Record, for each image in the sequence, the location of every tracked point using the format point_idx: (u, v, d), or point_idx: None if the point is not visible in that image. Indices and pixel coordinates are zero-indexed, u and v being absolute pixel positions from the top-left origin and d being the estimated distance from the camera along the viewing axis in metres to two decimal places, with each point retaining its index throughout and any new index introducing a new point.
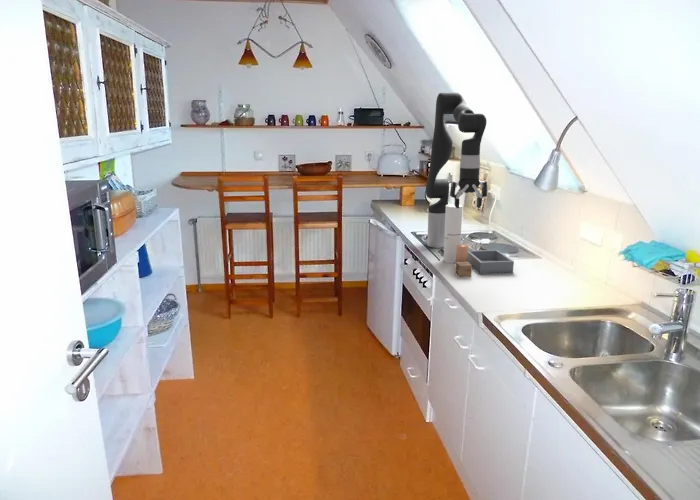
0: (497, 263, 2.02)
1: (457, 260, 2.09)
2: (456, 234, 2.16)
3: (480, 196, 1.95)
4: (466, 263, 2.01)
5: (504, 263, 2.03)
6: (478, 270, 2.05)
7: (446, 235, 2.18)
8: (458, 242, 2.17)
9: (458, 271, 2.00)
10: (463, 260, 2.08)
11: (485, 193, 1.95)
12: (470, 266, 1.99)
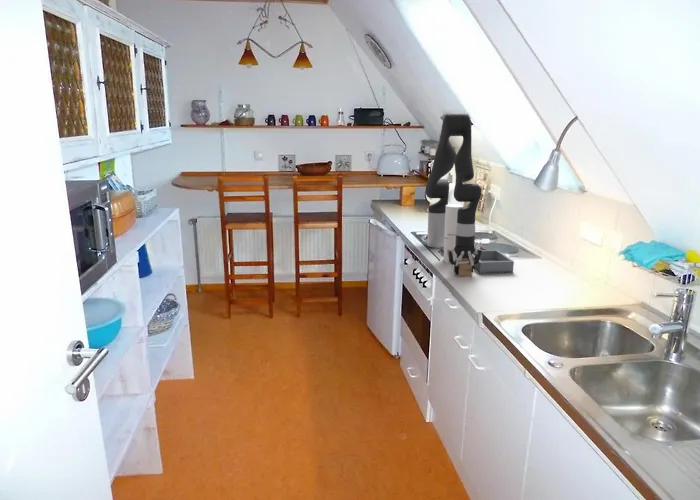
0: (497, 263, 2.02)
1: None
2: None
3: (472, 263, 2.00)
4: (466, 263, 2.01)
5: (504, 263, 2.03)
6: (478, 270, 2.05)
7: (446, 235, 2.18)
8: None
9: (458, 271, 2.00)
10: (463, 260, 2.08)
11: (476, 261, 2.00)
12: (470, 266, 1.99)
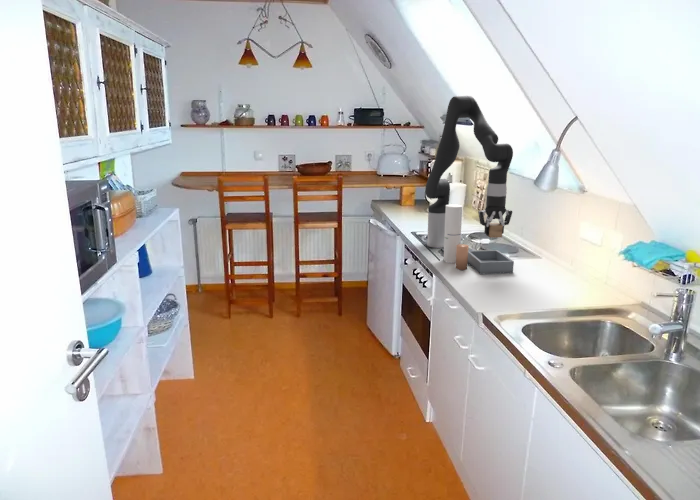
0: (497, 263, 2.02)
1: (457, 260, 2.09)
2: (456, 234, 2.16)
3: (502, 224, 2.02)
4: (497, 224, 2.03)
5: (504, 263, 2.03)
6: (478, 270, 2.05)
7: (446, 235, 2.18)
8: (458, 242, 2.17)
9: (489, 231, 2.02)
10: (463, 260, 2.08)
11: (507, 221, 2.02)
12: (501, 226, 2.01)
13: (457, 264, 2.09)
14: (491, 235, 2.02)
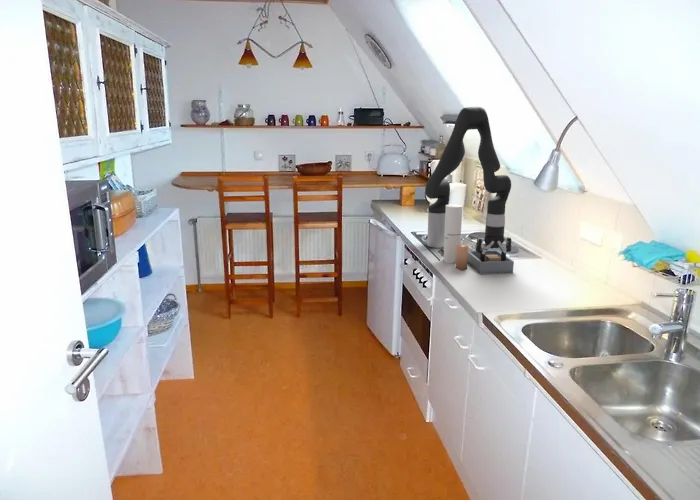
0: (497, 263, 2.02)
1: (457, 260, 2.09)
2: (456, 234, 2.16)
3: (504, 251, 2.05)
4: (495, 256, 2.07)
5: (504, 263, 2.03)
6: (478, 270, 2.05)
7: (446, 235, 2.18)
8: (458, 242, 2.17)
9: None
10: (463, 260, 2.08)
11: (509, 248, 2.05)
12: (499, 259, 2.05)
13: (457, 264, 2.09)
14: None
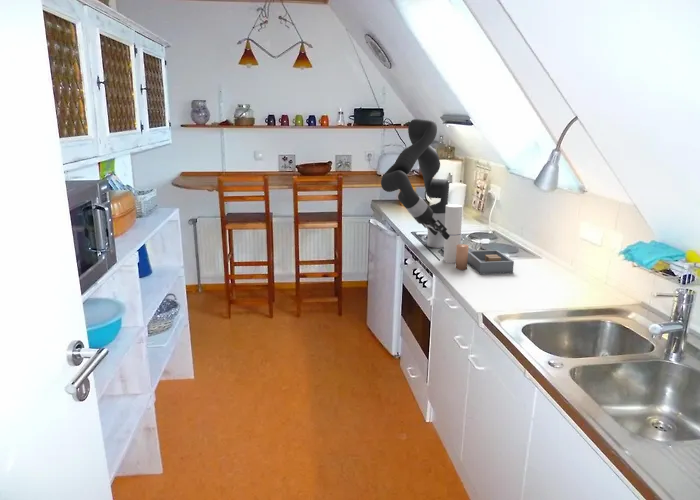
0: (497, 263, 2.02)
1: (457, 260, 2.09)
2: (456, 234, 2.16)
3: (439, 233, 1.97)
4: (495, 256, 2.07)
5: (504, 263, 2.03)
6: (478, 270, 2.05)
7: None
8: (458, 242, 2.17)
9: None
10: (463, 260, 2.08)
11: (441, 232, 1.95)
12: (499, 259, 2.05)
13: (457, 264, 2.09)
14: None
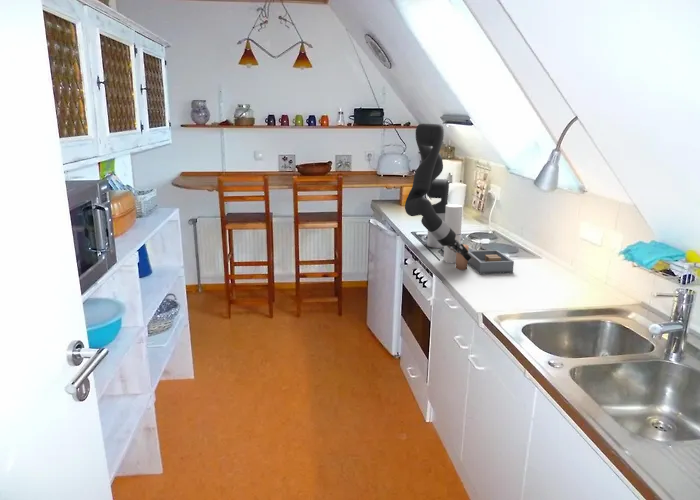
0: (497, 263, 2.02)
1: (457, 260, 2.09)
2: (456, 234, 2.16)
3: (461, 254, 2.06)
4: (495, 256, 2.07)
5: (504, 263, 2.03)
6: (478, 270, 2.05)
7: None
8: None
9: None
10: (463, 260, 2.08)
11: (462, 254, 2.04)
12: (499, 259, 2.05)
13: (457, 264, 2.09)
14: None
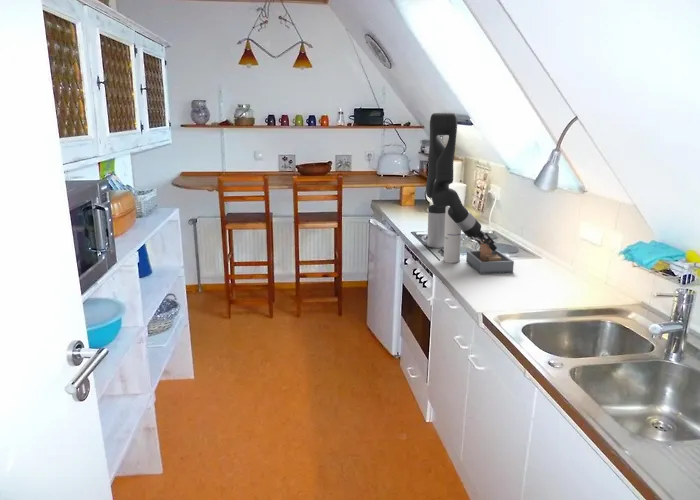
0: (497, 263, 2.02)
1: (481, 254, 2.14)
2: (456, 234, 2.16)
3: (487, 245, 2.08)
4: (495, 256, 2.07)
5: (504, 263, 2.03)
6: (478, 270, 2.05)
7: (446, 235, 2.18)
8: (458, 242, 2.17)
9: None
10: (487, 254, 2.12)
11: (488, 244, 2.06)
12: (499, 259, 2.05)
13: (481, 258, 2.14)
14: None
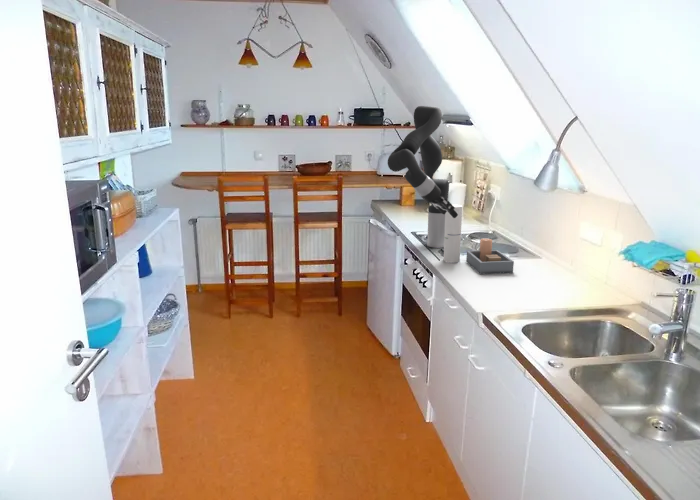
0: (497, 263, 2.02)
1: (481, 254, 2.14)
2: (456, 234, 2.16)
3: (447, 211, 1.98)
4: (495, 256, 2.07)
5: (504, 263, 2.03)
6: (478, 270, 2.05)
7: (446, 235, 2.18)
8: (458, 242, 2.17)
9: None
10: (487, 254, 2.12)
11: (448, 210, 1.95)
12: (499, 259, 2.05)
13: (481, 258, 2.14)
14: None
